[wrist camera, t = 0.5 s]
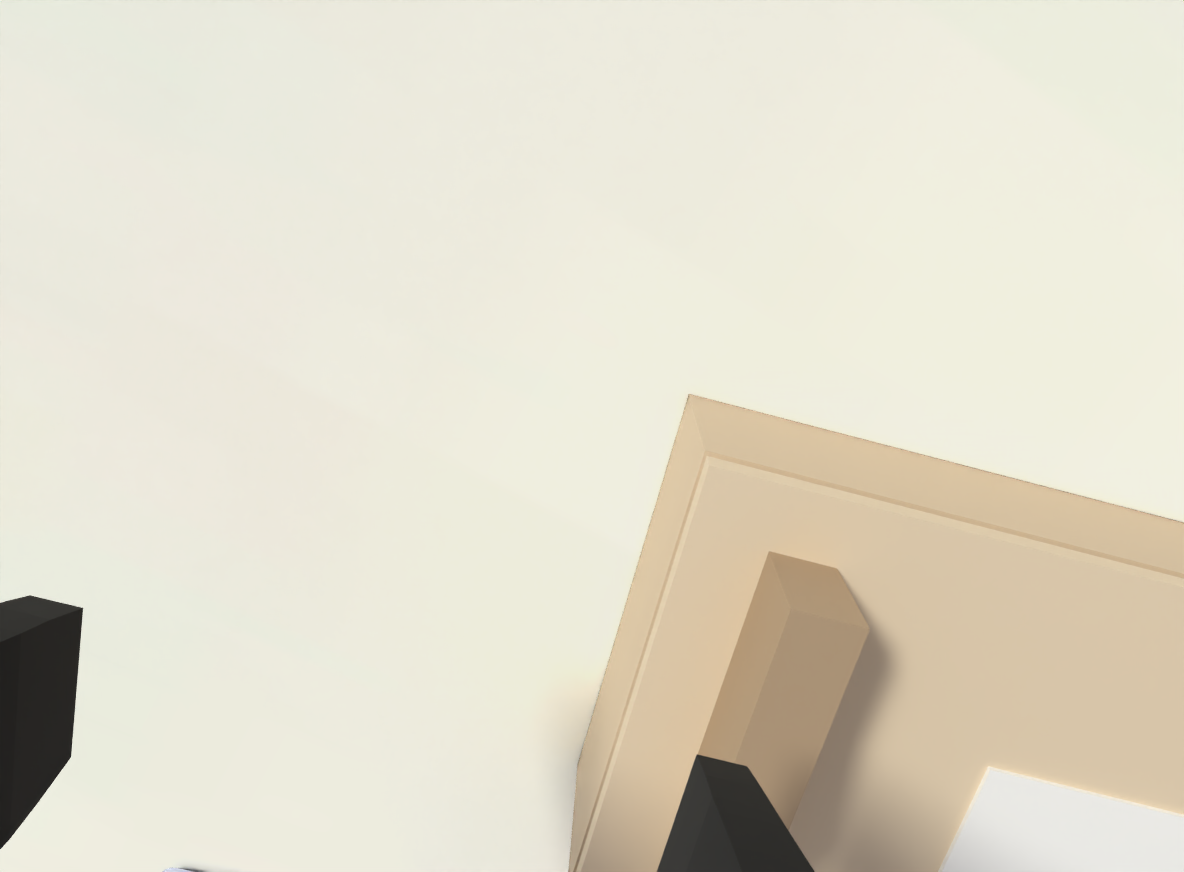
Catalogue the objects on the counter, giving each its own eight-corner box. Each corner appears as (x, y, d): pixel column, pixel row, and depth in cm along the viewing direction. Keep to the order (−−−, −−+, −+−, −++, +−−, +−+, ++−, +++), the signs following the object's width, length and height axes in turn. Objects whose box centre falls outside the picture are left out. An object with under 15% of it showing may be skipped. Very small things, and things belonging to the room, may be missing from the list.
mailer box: (577, 764, 21) (566, 892, 17) (689, 394, 18) (704, 450, 14) (1100, 891, 22) (1201, 1043, 18) (1290, 550, 19) (1460, 644, 15)
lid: (566, 904, 17) (555, 1022, 15) (707, 456, 14) (722, 511, 12) (1211, 1057, 18) (1303, 1195, 15) (1476, 654, 15) (1641, 746, 12)
